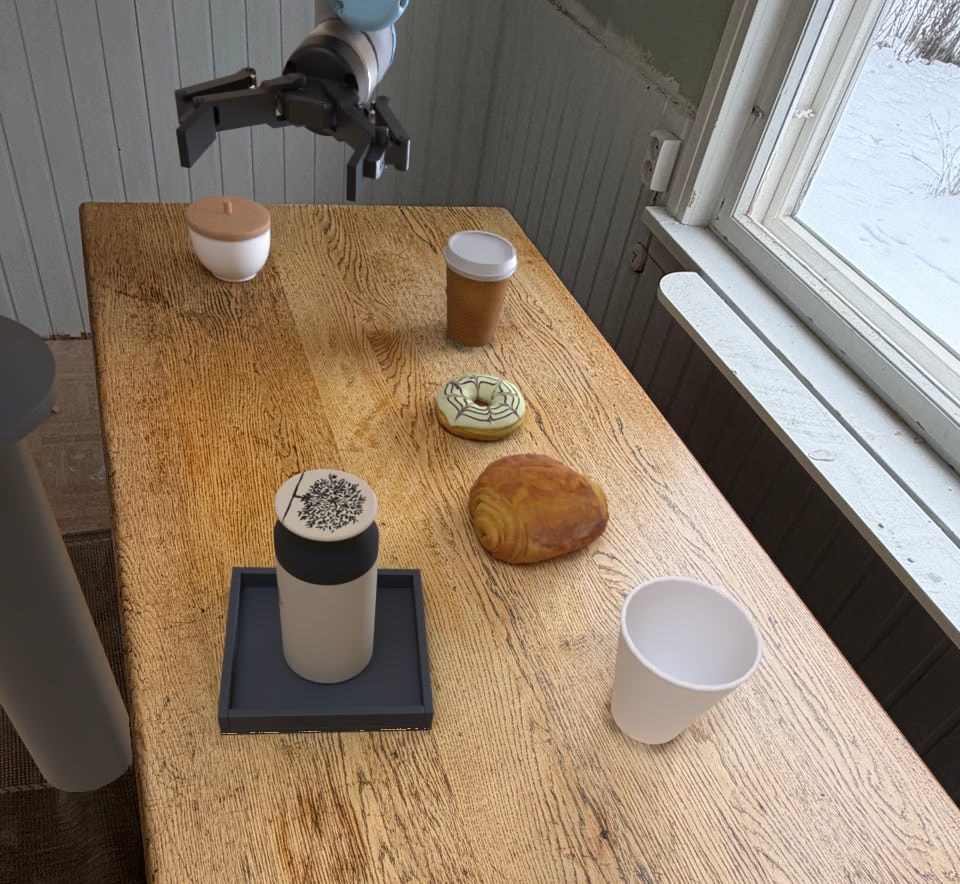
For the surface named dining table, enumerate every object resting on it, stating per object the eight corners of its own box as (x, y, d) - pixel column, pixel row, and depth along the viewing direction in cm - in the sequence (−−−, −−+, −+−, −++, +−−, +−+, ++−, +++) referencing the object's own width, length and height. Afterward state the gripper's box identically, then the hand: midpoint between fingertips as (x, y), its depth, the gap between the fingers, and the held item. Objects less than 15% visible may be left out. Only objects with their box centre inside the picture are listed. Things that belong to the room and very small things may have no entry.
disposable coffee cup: (517, 338, 111) (534, 252, 102) (472, 362, 106) (485, 274, 97) (467, 307, 114) (478, 221, 105) (420, 329, 109) (428, 240, 100)
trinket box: (177, 265, 111) (166, 194, 103) (240, 244, 117) (234, 175, 109) (227, 299, 107) (219, 228, 100) (289, 276, 113) (286, 207, 106)
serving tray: (221, 735, 67) (217, 717, 65) (235, 586, 77) (232, 566, 75) (430, 730, 70) (433, 712, 68) (418, 587, 80) (420, 568, 78)
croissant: (615, 565, 89) (645, 511, 83) (495, 586, 82) (520, 528, 76) (553, 479, 96) (577, 424, 90) (438, 491, 89) (456, 432, 83)
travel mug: (385, 631, 75) (396, 483, 61) (353, 696, 70) (357, 553, 56) (305, 605, 76) (298, 454, 62) (268, 669, 71) (251, 520, 57)
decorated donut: (427, 394, 100) (430, 367, 97) (509, 393, 103) (514, 367, 100) (443, 447, 94) (446, 421, 91) (530, 444, 97) (536, 418, 94)
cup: (568, 739, 72) (604, 655, 62) (601, 645, 79) (638, 557, 69) (696, 789, 70) (753, 711, 61) (718, 688, 78) (772, 604, 68)
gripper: (452, 148, 81) (417, 244, 68) (207, 97, 80) (121, 184, 67) (462, 60, 75) (424, 146, 62) (197, 5, 75) (101, 80, 61)
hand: (267, 166), depth 64 cm, fingers open, 13 cm apart
